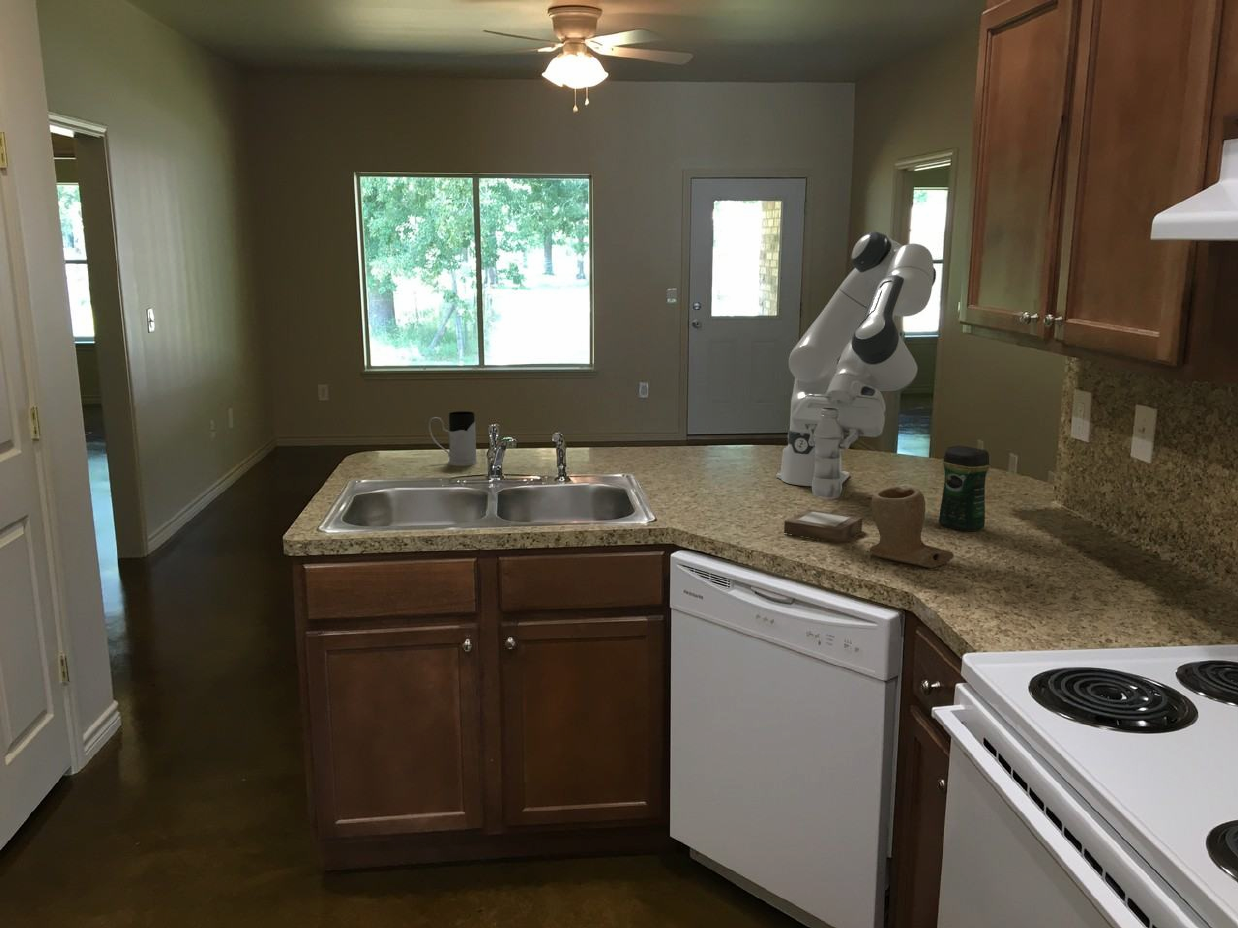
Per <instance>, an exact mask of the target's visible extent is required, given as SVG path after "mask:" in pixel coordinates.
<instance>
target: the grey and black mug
mask: <svg viewBox="0 0 1238 928" xmlns="http://www.w3.org/2000/svg"><path fill="white" fill-rule="evenodd" d="M475 416H476V415H475V412H473V411H464V410H463V411H462V410H460V411H451V412H448V427H449V428H448V429H449V430H446V428H445V423H444V421H443V419H442V418H441V417H438V416H434V417H432V418H430V420H429V423H428V431H429V433H430V436H431V439H432V440H433V442H434V443H435V444H436V445H437V446H438V447H439V448H441V449H442V450H443V451H444V452H446V453H447V455H448V458H449V460H448V462H447V463H448V465H451V466H457V467H458V466H459V467H461V466H462V467H463V466H465V467H467V466H473V465H477V464H478V463H479V462H478V460H477V445H476V443H477V442H476V440H477V439H476V438H477V437H476V436H477V435H476V434H477V433H476V420H475ZM435 419H438V420H439V421H440V422H441V424H442V430H443V431H444V432H446V433H448V448H449V450H447V449H446V448H444V447H443V446H442V445H440V444H439V442H438V441H437V440H436V439H435V437H434V436H433V433H432V429H431V422H432V420H435Z"/></svg>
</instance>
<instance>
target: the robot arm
mask: <svg viewBox="0 0 1238 928" xmlns="http://www.w3.org/2000/svg"><path fill="white" fill-rule="evenodd" d="M850 254H851V255H850V261H851V262H850V263H851V264H852V266H853V267H854V269H852V271H850V272H849V274H848V275H847V276H846V278H845V279H844V280H843V282H842V283H841V284H840V286H839V287H838V288H837V289H836V291H835V293H833V296H832V297H831V298H830V300H829V301H828V303H827V304H826V305H825V307H824V309H823V310H822V311H821V313H820V314H819V315H817V316H818V317H817V318H815V321H813V322H812V324H811V325H810V326H809V328H808V329H807V330H806V332H805V333H804V334H803V336H801V338H800V339H799V341H798V342H797V344H795V346H794V347H793V349H792V351H791V352H790V354H789V358H788V368H789V372H791V374H792V376H793V377H794V382H793V383H794V384H793V390H792V395H791V400H790V419H789V421H790V422H789V429H788V431H787V432H788V433H787V446H786V447H784V448H783V450H782V457H781V467H780V472H777V473H776V477H775V478H778V479H780V480H781V481H782V482H783V483H787V484H789V485H790V484H791V485H795V486H804V487H812V481H813V477H814V471H815V463H816V455H815V440H814V430H815V427H816V426H817V425H818V423H819V422H820V421H821V420H822V417H821V409H822V408H838V415H839V417H838V418H837V420H838V422H839V423H840V425H841V427H842V429H843V432H844V435H848V436H847V437H846V438H843V439H842V441H841V443H840V447H841V450H846V451H848V450H849V448H850V445H852V443H854V442H855V441H857V440H858V438H859V437H868V438H869V437H871V438H877V437H879V436H881V435H882V434H883V430H884V426H885V420H886V417H885V413H886V407H887V406H886V402H885V400H884V399H885V398H884V397H883V393H895V392H901V391H904V390H905V389H907V388H908V387H909V386H911V385H912V383H913V382H914V381H915V379H916V377H917V375H918V372H919V367H918V364H917V362H916V360H915V358H914V357H913V355H912V354H911V352H910V350H909V349H908V347H907V345H906V344H905V342H904V340H903V339H902V336H901V335H900V333H899V331H898V329H897V326H896V325H895V319H894V318H895V316H897V317H912V316H915V315H918V314H919V313H921V312H922V311H924V309H926V308H927V306H928V303H929V301H930V299H931V295H932V291H933V290H932V289H933V287H934V284H935V282H936V280H937V270H936V269H935V267H934V258H933V255H932V253H931V251H930V250H929V248H927V247H926V246H925V245H922V244H920V243H908V244H905V245H904V244H901V243H899V242H898V241H896V240H893V239H892V238H890V237H888V236H887V235H886V234H884V233H881V232H878V231H874V230H873V231H869V232H867V233H865V234H863V235H862V236H861V237H860V239H858V241H857V242H856V243H855V245H854V247H853V249H852V252H851V253H850ZM882 392H883V393H882ZM849 476H850V472H848V471H846V470H842V456H840V478H841V483H842V484H843V483H845V481H846V480H847V479H849Z"/></svg>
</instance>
